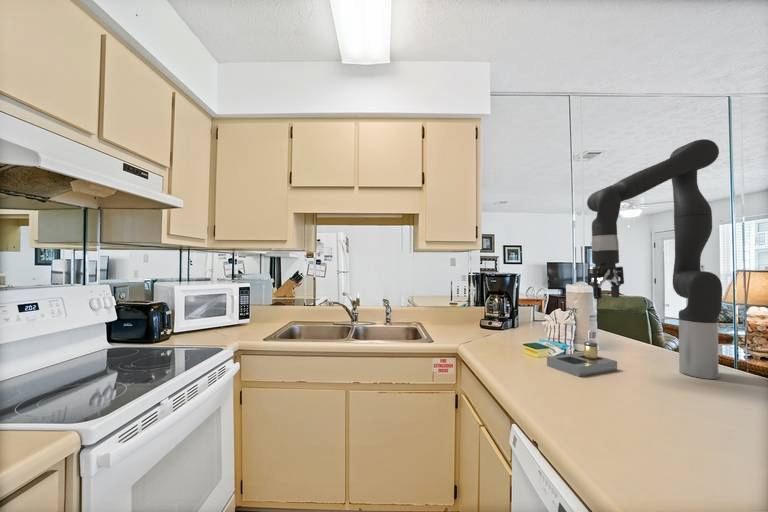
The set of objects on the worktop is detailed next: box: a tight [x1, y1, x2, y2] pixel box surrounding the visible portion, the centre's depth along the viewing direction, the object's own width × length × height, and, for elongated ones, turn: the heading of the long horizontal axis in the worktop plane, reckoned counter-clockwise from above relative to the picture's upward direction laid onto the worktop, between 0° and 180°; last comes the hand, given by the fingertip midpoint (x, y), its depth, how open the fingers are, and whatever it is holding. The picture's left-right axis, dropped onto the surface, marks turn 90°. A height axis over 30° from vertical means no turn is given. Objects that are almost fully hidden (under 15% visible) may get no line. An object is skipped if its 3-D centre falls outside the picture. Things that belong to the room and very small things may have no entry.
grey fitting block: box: [546, 351, 618, 377], centre depth 113 cm, size 18×12×3 cm, turn 112°
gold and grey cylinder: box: [583, 341, 599, 361], centre depth 114 cm, size 4×4×8 cm
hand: (606, 298), depth 111 cm, fingers open, 8 cm apart
